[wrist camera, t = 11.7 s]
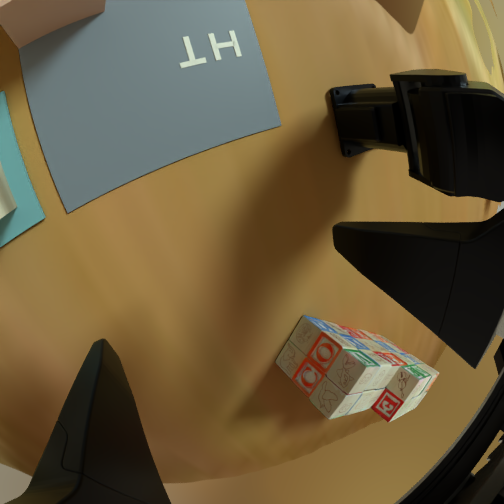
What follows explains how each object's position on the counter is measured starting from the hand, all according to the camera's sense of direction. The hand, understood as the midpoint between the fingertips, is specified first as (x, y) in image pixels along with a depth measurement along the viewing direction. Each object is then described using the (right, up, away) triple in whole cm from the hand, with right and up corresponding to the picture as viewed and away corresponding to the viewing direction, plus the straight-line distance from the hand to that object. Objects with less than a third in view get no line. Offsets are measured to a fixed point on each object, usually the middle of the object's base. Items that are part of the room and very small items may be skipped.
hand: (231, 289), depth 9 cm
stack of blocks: (+12, -11, +25) cm, 30 cm away
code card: (-6, +16, +3) cm, 17 cm away
